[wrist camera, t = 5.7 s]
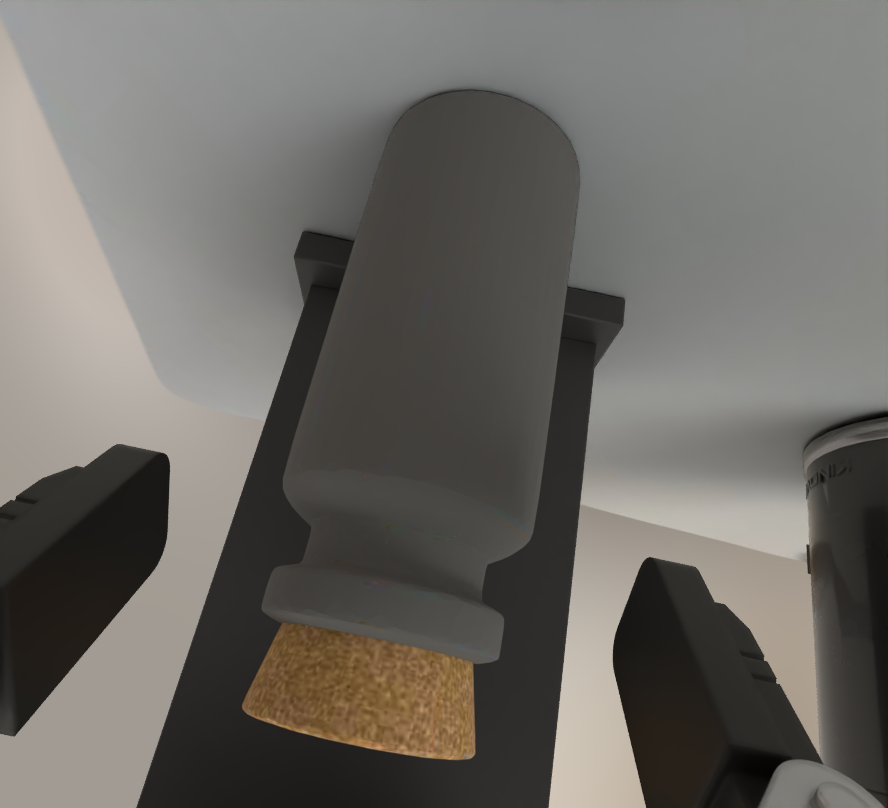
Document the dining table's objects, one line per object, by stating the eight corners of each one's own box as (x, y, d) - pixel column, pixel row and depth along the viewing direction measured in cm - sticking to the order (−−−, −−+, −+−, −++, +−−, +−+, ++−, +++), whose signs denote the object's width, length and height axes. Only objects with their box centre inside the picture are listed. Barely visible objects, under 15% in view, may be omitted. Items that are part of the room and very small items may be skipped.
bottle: (347, 117, 18) (143, 694, 12) (547, 59, 15) (417, 775, 9) (437, 249, 22) (325, 712, 16) (602, 224, 20) (542, 768, 13)
